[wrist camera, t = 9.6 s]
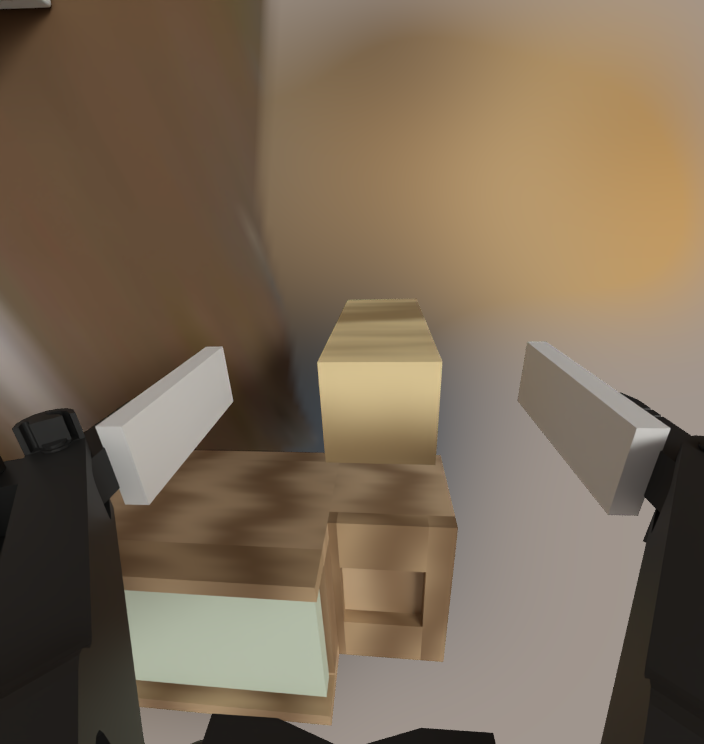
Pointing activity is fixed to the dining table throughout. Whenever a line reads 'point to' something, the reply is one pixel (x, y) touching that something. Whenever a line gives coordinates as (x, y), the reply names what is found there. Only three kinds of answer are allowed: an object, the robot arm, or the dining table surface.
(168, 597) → the lid
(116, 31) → the dining table surface
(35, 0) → the product box
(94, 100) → the dining table surface
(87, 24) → the dining table surface
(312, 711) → the toolbox
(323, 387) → the beige wooden block
